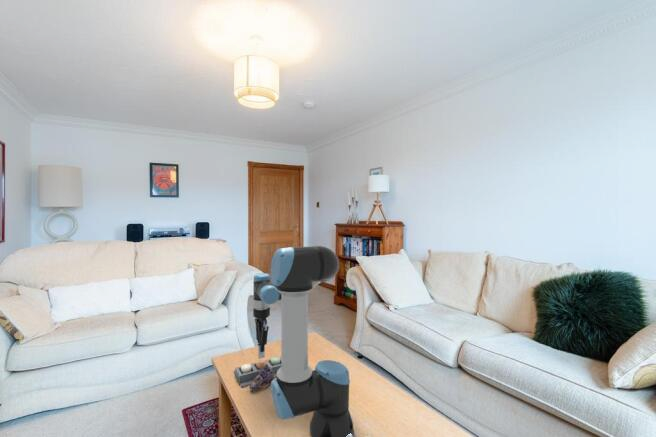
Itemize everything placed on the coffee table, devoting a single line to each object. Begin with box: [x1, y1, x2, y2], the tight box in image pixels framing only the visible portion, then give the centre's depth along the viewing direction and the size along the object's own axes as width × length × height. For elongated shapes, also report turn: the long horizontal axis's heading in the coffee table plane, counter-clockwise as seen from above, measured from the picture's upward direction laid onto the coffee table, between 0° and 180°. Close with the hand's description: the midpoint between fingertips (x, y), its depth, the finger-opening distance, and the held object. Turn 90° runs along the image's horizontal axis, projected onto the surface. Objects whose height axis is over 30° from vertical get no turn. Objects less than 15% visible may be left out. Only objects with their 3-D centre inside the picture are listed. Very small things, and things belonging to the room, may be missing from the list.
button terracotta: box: [255, 359, 266, 370], centre depth 141 cm, size 4×4×2 cm
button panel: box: [233, 356, 281, 389], centre depth 141 cm, size 14×22×4 cm, turn 120°
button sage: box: [270, 356, 280, 366], centre depth 145 cm, size 4×4×2 cm
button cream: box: [240, 363, 251, 374], centre depth 138 cm, size 4×4×2 cm
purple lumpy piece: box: [248, 367, 275, 393], centre depth 131 cm, size 12×8×6 cm, turn 138°
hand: (261, 357), depth 141 cm, fingers closed
